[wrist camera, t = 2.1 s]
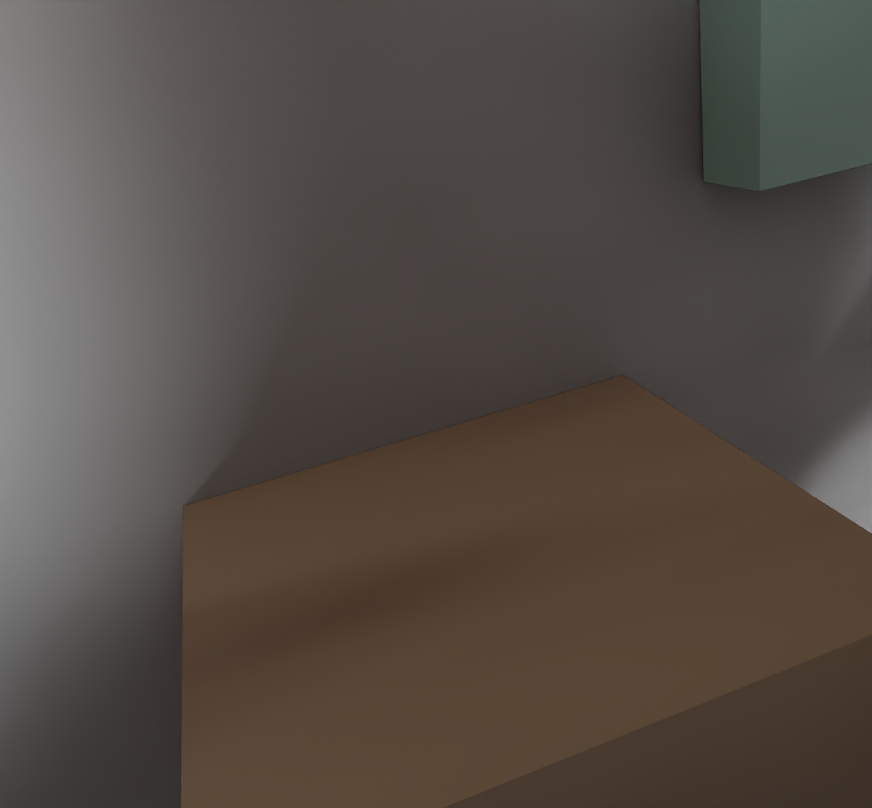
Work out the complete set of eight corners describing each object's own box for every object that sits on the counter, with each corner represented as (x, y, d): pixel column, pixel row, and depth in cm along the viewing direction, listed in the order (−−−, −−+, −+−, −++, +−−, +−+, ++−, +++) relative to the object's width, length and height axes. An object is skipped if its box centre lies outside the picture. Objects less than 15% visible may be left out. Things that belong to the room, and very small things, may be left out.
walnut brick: (644, 690, 12) (905, 1029, 8) (302, 825, 11) (380, 1307, 7) (618, 372, 10) (968, 595, 5) (183, 501, 9) (180, 913, 4)
